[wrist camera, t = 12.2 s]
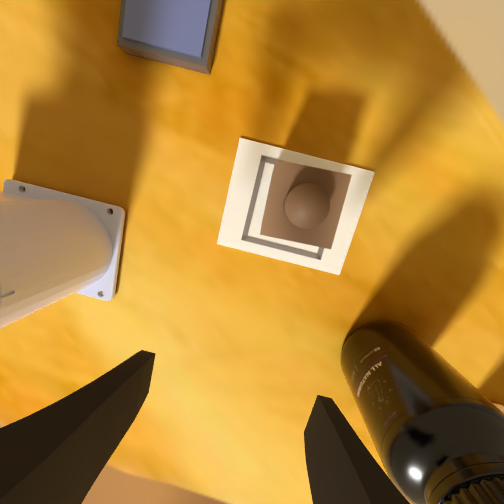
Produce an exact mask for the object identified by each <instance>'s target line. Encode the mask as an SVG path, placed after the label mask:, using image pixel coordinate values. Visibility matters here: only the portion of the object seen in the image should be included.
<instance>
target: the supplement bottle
mask: <svg viewBox="0 0 504 504" xmlns="http://www.w3.org/2000/svg"><path fill="white" fill-rule="evenodd" d="M341 366H342V370H343V373H344V375H345V378H346V380H347V383H348V385H349V387H350V390H351V392H352V394H353V397H354V399H355V401H356V403H357V406H358V408H359V410H360V413H361V415H362V417H363V420H364V422H365V424H366V427H367V429H368V431H369V433H370V436H371V438H372V440H373V443H374V445H375V447H376V450H377V452H378V454H379V457H380V459H381V461H382V463H383V466H384V468H385V470H386V472H387V474H388V476H389V478H390V480H391V481H392V483H393V484H394V485H395V486H396V488H397V489H398V490H399V491H400V492H401V494H402V495H403V496H404V497H405V498H407V499H408V500H409V501H410V502H411V503H413V504H504V413H503V412H502V411H501V410H500V409H499V408H497V407H496V406H495V405H494V404H493V403H492V402H491V401H490V400H489V399H488V398H487V397H485V396H484V395H483V394H482V393H481V392H480V391H479V390H478V389H477V388H476V387H474V386H473V385H472V384H471V383H470V382H469V381H468V380H467V379H466V378H465V377H464V376H462V375H461V374H460V373H459V372H458V371H457V370H456V369H455V368H454V367H453V366H452V365H450V364H449V363H448V362H447V361H446V360H445V359H444V358H443V357H442V356H441V355H439V354H438V353H437V352H436V351H435V350H434V349H433V348H432V347H431V346H430V345H429V344H427V343H426V342H425V341H424V340H423V339H422V338H421V337H420V336H418V335H417V334H416V333H415V332H414V331H412V330H411V329H409V328H408V327H406V326H404V325H401V324H398V323H394V322H375V323H371V324H368V325H365V326H363V327H361V328H359V329H358V330H356V331H355V332H354V333H353V334H352V335H351V336H350V337H349V338H348V339H347V341H346V342H345V344H344V346H343V349H342V353H341Z"/></svg>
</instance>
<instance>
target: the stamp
mask: <svg viewBox="0 0 504 504" xmlns="http://www.w3.org/2000/svg"><path fill="white" fill-rule="evenodd" d="M351 176H352V175H350V174H345V173H340V172H335V171H331V170H326V169H321V168H316V167H311V166H306V165H301V164H296V163H291V162H286V161H281V160H275V164H274V168H273V172H272V177H271V182H270V186H269V191H268V196H267V201H266V206H265V210H264V215H263V220H262V225H261V231H260V235H264V236H269V237H273V238H278V239H283V240H288V241H293V242H298V243H302V244H307V245H312V246H317V247H322V248H327V249H331V248H332V244H333V241H334V237H335V233H336V230H337V226H338V223H339V219H340V216H341V212H342V208H343V205H344V201H345V198H346V194H347V191H348V187H349V183H350V180H351Z"/></svg>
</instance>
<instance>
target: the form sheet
mask: <svg viewBox="0 0 504 504" xmlns="http://www.w3.org/2000/svg"><path fill="white" fill-rule="evenodd" d="M275 160H281V161H286V162H291V163H296V164H301V165H306V166H311V167H316V168H321V169H326V170H331V171H335V172H340V173H345V174H350V175H352V176H351V180H350V183H349V187H348V191H347V194H346V198H345V201H344V205H343V208H342V212H341V216H340V219H339V223H338V226H337V230H336V233H335V237H334V241H333V244H332V248H331V249H327V248H322V247H317V246H312V245H307V244H302V243H298V242H293V241H288V240H283V239H278V238H273V237H269V236H264V235H260V231H261V225H262V220H263V215H264V210H265V206H266V201H267V196H268V191H269V186H270V182H271V177H272V172H273V168H274V164H275ZM374 174H375V172H373V171H369V170H366V169H362V168H358V167H354V166H350V165H346V164H342V163H338V162H334V161H330V160H326V159H322V158H318V157H314V156H310V155H306V154H302V153H298V152H295V151H291V150H287V149H283V148H279V147H275V146H271V145H267V144H263V143H259V142H255V141H251V140H247V139H243V138H240V140H239V145H238V149H237V154H236V158H235V163H234V167H233V172H232V177H231V181H230V186H229V190H228V195H227V200H226V204H225V209H224V213H223V218H222V222H221V227H220V232H219V236H218V241H217V244H219V245H223V246H227V247H231V248H235V249H239V250H243V251H247V252H251V253H255V254H259V255H262V256H266V257H270V258H274V259H278V260H282V261H286V262H290V263H294V264H298V265H302V266H306V267H310V268H314V269H318V270H321V271H325V272H329V273H333V274H337V275H340V272H341V269H342V266H343V263H344V260H345V257H346V254H347V252H348V249H349V246H350V243H351V240H352V237H353V234H354V231H355V228H356V226H357V223H358V220H359V217H360V214H361V211H362V208H363V205H364V202H365V200H366V197H367V194H368V191H369V188H370V185H371V182H372V179H373V176H374Z"/></svg>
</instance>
